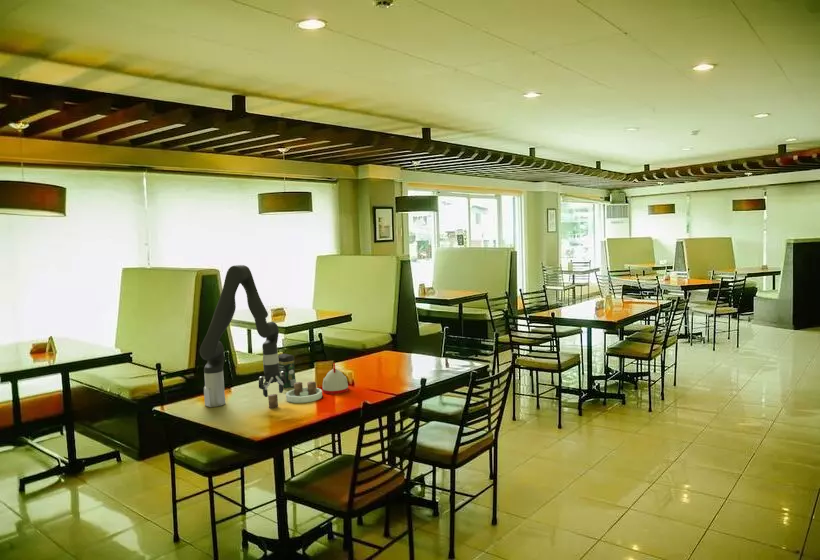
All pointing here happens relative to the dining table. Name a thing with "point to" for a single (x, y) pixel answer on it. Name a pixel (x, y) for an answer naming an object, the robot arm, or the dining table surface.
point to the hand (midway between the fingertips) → (273, 394)
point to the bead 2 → (311, 388)
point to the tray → (303, 396)
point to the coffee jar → (287, 369)
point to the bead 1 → (298, 388)
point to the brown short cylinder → (273, 401)
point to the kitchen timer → (335, 382)
